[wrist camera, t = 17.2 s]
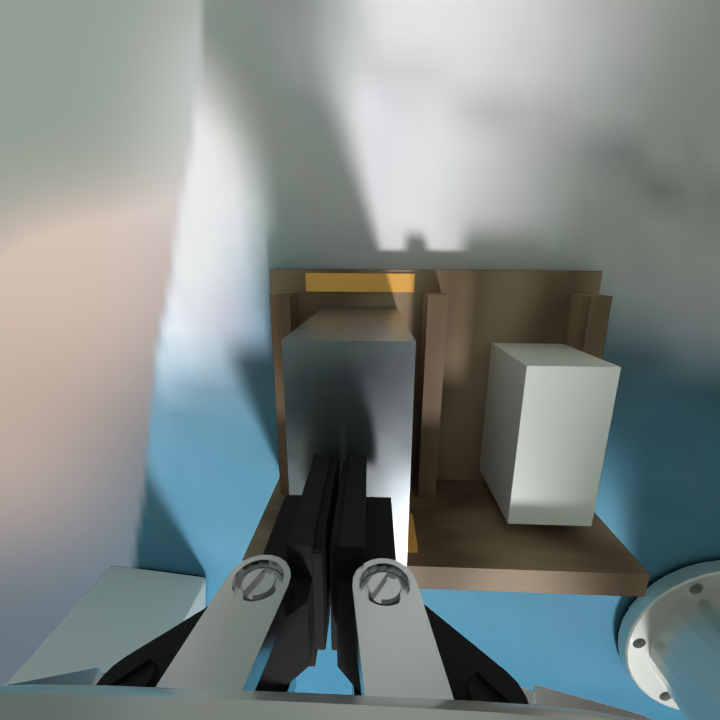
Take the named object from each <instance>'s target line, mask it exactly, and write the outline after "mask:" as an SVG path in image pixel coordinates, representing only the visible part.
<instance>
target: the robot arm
mask: <svg viewBox="0 0 720 720" xmlns="http://www.w3.org/2000/svg"><path fill="white" fill-rule="evenodd" d="M366 481H367V455H358V454H350V458H349V459H343V463H342V470H341V476H340V483H339V466H338V459H332V454H314V457H313V460H312V463H311V467H310V470H309V473H308V476H307V479H306V483H305V486H304V489H303V492H302V495H286V496H285V498H284V500H283V503H282V505H281V508H280V511H279V513H278V516H277V519H276V521H275V524H274V526H273V529H272V532H271V534H270V537H269V540H268V542H267V545H266V547H265V550H264V553H263V555H259V556H254V557H251V558H249V559H247V560H244V561H243V562H241V563H240V564H238V565H237V566H236V567H235V568H234V569H233V570H232V571H231V572H230V574H229V575H228V576H227V578H226V579H225V581H224V583H223V584H222V586H221V587H220V589H219V590H218V592H217V593H216V595H215V596H214V598H213V599H212V601H211V603H210V604H209V606H208V607H206V608H204V609H203V610H201V611H199V612H198V613H196V614H194V615H193V616H191V617H190V618H188V619H186V620H185V621H183V622H181V623H180V624H178V625H176V626H175V627H173V628H172V629H170V630H168V631H167V632H165V633H163V634H162V635H160V636H158V637H157V638H155V639H154V640H152V641H150V642H149V643H147V644H145V645H144V646H142V647H140V648H139V649H137V650H136V651H134V652H132V653H131V654H129V655H127V656H126V657H124V658H123V659H121V660H120V661H119V662H117V663H116V664H115V665H113V666H112V667H111V668H110V669H109V670H108V671H107V672H106V673H101V672H100V667H97V668H92V669H87V670H82V671H77V672H72V673H66V674H61V675H56V676H51V677H46V678H41V679H36V680H30V681H25V682H20V683H15V684H10V685H4V686H0V720H652V719H649V718H647V717H645V716H643V715H640V714H637V713H633V712H630V711H626V710H623V709H619V708H616V707H612V706H609V705H605V704H602V703H598V702H594V701H591V700H587V699H584V698H580V697H577V696H573V695H570V694H566V693H563V692H559V691H555V690H552V689H548V688H545V687H541V686H538V685H534V690H533V691H531V690H528V689H524V688H521V687H520V686H519V684H518V683H517V682H516V681H515V680H514V679H513V678H512V677H511V676H510V675H509V674H508V673H507V672H506V671H505V670H504V669H503V668H501V667H500V666H499V665H498V664H497V663H495V662H494V661H493V660H492V659H490V658H489V657H488V656H487V655H486V654H484V653H483V652H482V651H481V650H479V649H478V648H477V647H476V646H474V645H473V644H472V643H471V642H470V641H468V640H467V639H466V638H465V637H463V636H462V635H461V634H460V633H459V632H457V631H456V630H455V629H454V628H452V627H451V626H450V625H449V624H448V623H446V622H445V621H444V620H443V619H441V618H440V617H439V616H438V615H436V614H435V613H434V612H433V611H432V610H430V609H429V608H428V607H427V606H425V605H424V603H423V600H422V597H421V594H420V591H419V588H418V585H417V581H416V579H415V577H414V575H413V573H412V572H411V571H410V570H409V569H408V568H407V567H406V566H405V565H403V564H402V563H400V562H398V561H396V554H395V541H394V529H393V516H392V504H391V497H366ZM330 608H331V639H332V650H337V658H338V667H339V668H340V670H341V671H342V672H343V673H344V675H345V676H346V677H347V678H348V679H349V681H350V682H351V683H352V695H341V694H318V693H294V692H295V687H296V677H297V676H298V675H299V674H300V673H301V672H303V671H304V670H305V669H306V668H307V667H308V666H315V663H316V656H317V649H320V650H325V648H326V641H327V633H328V624H329V616H330ZM618 649H619V654H620V658H621V660H622V662H623V664H624V666H625V668H626V670H627V672H628V673H629V675H630V676H631V678H632V679H633V681H634V682H635V683H636V685H637V686H638V687H639V688H640V689H641V690H642V691H643V692H644V693H645V694H646V695H647V696H649V697H651V698H652V699H654V700H655V701H657V702H659V703H661V704H664V705H667V706H670V707H672V708H675V709H679V710H680V711H681V712H682V714H683V715H684V716H685V718H686V719H687V720H720V560H718V561H709V562H702V563H698V564H694V565H691V566H687V567H684V568H681V569H679V570H677V571H674V572H672V573H670V574H667V575H666V576H664V577H662V578H661V579H659V580H658V581H656V582H654V583H653V584H651V585H650V586H649V587H648V588H647V589H646V593H645V597H637V598H636V599H635V601H634V602H633V603H632V604H631V605H630V607H629V609H628V610H627V612H626V614H625V616H624V618H623V620H622V623H621V626H620V630H619V633H618Z"/></svg>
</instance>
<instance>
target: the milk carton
mask: <svg viewBox="0 0 720 720" xmlns="http://www.w3.org/2000/svg"><path fill="white" fill-rule="evenodd" d="M205 606H206V579H205V578H203V577H198V576H190V575H182V574H175V573H167V572H159V571H151V570H143V569H136V568H128V567H120V566H111V567H110V568H109V569H108V570H107V571H106V572H105V573H104V575H103V576H102V577H101V578H100V579H99V580H98V581H97V583H96V584H95V585H94V586H93V587H92V588H91V589H90V590H89V591H88V593H87V594H86V595H85V596H84V597H83V598H82V599H81V601H80V602H79V603H78V604H77V605H76V606H75V607H74V608H73V610H72V611H71V612H70V613H69V614H68V615H67V616H66V618H65V619H64V620H63V621H62V622H61V623H60V624H59V625H58V627H57V628H56V629H55V630H54V631H53V632H52V633H51V634H50V636H49V637H48V638H47V639H46V640H45V641H44V642H43V644H42V645H41V646H40V647H39V648H38V649H37V650H36V652H35V653H34V654H33V655H32V656H31V657H30V658H29V660H27V662H26V663H25V664H24V665H23V666H22V667H21V668H20V670H19V671H18V672H17V673H16V674H15V675H14V676H13V677H12V679H11V680H10V681H9V682H8V683H7V684H6V685H10V684H15V683H20V682H25V681H30V680H36V679H41V678H46V677H51V676H56V675H61V674H66V673H72V672H77V671H82V670H87V669H92V668H97V667H100V672H101V673H106V672H107V671H108V670H109V669H110V668H111V667H112V666H113V665H115V664H116V663H117V662H119V661H120V660H121V659H123V658H124V657H126V656H127V655H129V654H131V653H132V652H134V651H136V650H137V649H139V648H140V647H142V646H144V645H145V644H147V643H149V642H150V641H152V640H154V639H155V638H157V637H158V636H160V635H162V634H163V633H165V632H167V631H168V630H170V629H172V628H173V627H175V626H176V625H178V624H180V623H181V622H183V621H185V620H186V619H188V618H190V617H191V616H193V615H194V614H196V613H198V612H199V611H201V610H203V609H204V608H205Z"/></svg>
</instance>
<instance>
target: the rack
mask: <svg viewBox="0 0 720 720" xmlns="http://www.w3.org/2000/svg"><path fill="white" fill-rule="evenodd" d="M601 276H602V271H534V270H359V269H270V284H271V293H270V306H271V325H272V343H273V361H274V380H275V398H276V416H277V435H278V453H279V471H280V478H279V480H278V482H277V485H276V487H275V489H274V491H273V494H272V496H271V498H270V500H269V502H268V505H267V507H266V509H265V511H264V513H263V516H262V518H261V520H260V522H259V524H258V527H257V529H256V531H255V533H254V536H253V538H252V540H251V542H250V544H249V547H248V549H247V551H246V553H245V555H244V558H243V560H242V562H243V561H244V560H247V559H249V558H251V557H254V556H259V555H263V553H264V550H265V547H266V545H267V542H268V540H269V537H270V534H271V532H272V529H273V526H274V524H275V521H276V519H277V516H278V513H279V511H280V508H281V505H282V503H283V500H284V498H285V496H286V495H289V479H288V459H287V440H286V421H285V401H284V382H283V362H282V343H281V340H282V339H283V338H285V337H286V336H287V335H289V334H290V333H291V332H292V331H294V330H295V329H296V328H298V327H299V326H300V325H301V324H303V323H304V322H305V321H307V320H308V319H309V318H310V317H312V316H313V315H314V314H316V313H317V312H318V311H319V310H321V309H322V308H323V307H325V306H396V307H397V309H398V310H399V312H400V314H401V316H402V317H403V319H404V321H405V323H406V325H407V326H408V328H409V330H410V332H411V333H412V335H413V337H414V339H415V341H416V352H415V376H414V401H413V426H412V450H411V475H410V500H409V525H408V549H407V568H408V569H409V570H410V571H411V572H412V573H413V575H414V577H415V579H416V581H417V585H418V588H423V589H450V590H477V591H504V592H531V593H557V594H584V595H611V596H638V597H645V593H646V589H647V584H648V580H649V576H650V574H649V573H648V572H647V571H646V570H645V568H644V567H643V566H642V565H641V564H640V563H639V562H638V561H637V559H636V558H635V557H634V556H633V555H632V554H631V553H630V552H629V551H628V549H627V548H626V547H625V546H624V545H623V544H622V543H621V542H620V541H619V539H618V538H617V537H616V536H615V535H614V534H613V533H612V532H611V531H610V529H609V528H608V527H607V526H606V525H605V524H604V523H603V522H602V520H601V519H600V518H599V517H598V516H597V515H596V514H595V513H594V509H595V504H596V499H597V493H598V488H599V483H600V477H601V472H602V467H603V461H604V456H605V451H606V445H607V440H608V435H609V429H610V424H611V419H612V414H613V408H614V403H615V398H616V392H617V387H618V382H619V376H620V371H621V367H619V366H617V365H615V364H612V363H610V362H607V361H605V360H602V354H603V348H604V342H605V336H606V331H607V325H608V319H609V313H610V307H611V302H612V296H605V295H598V294H599V288H600V282H601Z"/></svg>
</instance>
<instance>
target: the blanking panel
mask: <svg viewBox="0 0 720 720" xmlns="http://www.w3.org/2000/svg"><path fill="white" fill-rule="evenodd" d="M281 343H282V362H283V382H284V401H285V421H286V440H287V459H288V479H289V495H302V492H303V489H304V486H305V483H306V479H307V476H308V473H309V470H310V467H311V463H312V460H313V457H314V454H332V459H338V466H339V483H340V476H341V470H342V463H343V459H349V458H350V454H358V455H367V481H366V497H391V504H392V516H393V529H394V541H395V554H396V561H398V562H400V563H402V564H403V565H405V566H406V567H407V549H408V525H409V500H410V475H411V450H412V426H413V401H414V376H415V352H416V341H415V339H414V337H413V335H412V333H411V332H410V330H409V328H408V326H407V325H406V323H405V321H404V319H403V317H402V316H401V314H400V312H399V310H398V309H397V307H396V306H325V307H323V308H322V309H321V310H319V311H318V312H317V313H316V314H314V315H313V316H312V317H310V318H309V319H308V320H307V321H305V322H304V323H303V324H301V325H300V326H299V327H298V328H296V329H295V330H294V331H292V332H291V333H290V334H289V335H287V336H286V337H285V338H283V339H282V340H281ZM330 610H331V608H330Z"/></svg>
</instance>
